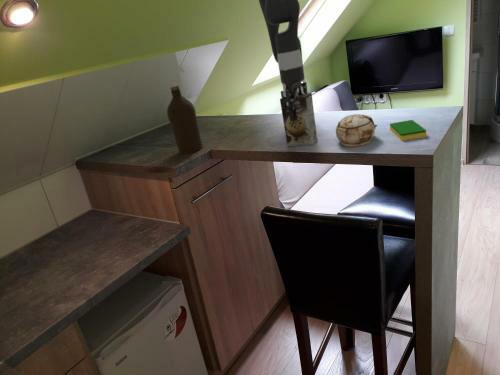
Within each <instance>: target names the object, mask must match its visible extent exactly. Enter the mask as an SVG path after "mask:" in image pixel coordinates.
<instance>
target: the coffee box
mask: <svg viewBox="0 0 500 375" xmlns="http://www.w3.org/2000/svg"><path fill="white" fill-rule="evenodd" d="M291 99H294V98H291ZM279 101H280V107H281V108H280V109H281V114H282V115H281V116H282V120H283V127H284V128H283V129H284V133H285V139H286V146H287V147H294V146H296V147H297V146H298V145H301V146H312V145H313V144H314V143H315V142H317V141H318V135H317V134H318V133H317V127H316V121H315V120H316V119H315V111H314V103H313V102H314V101H313V95H312V92H308V93H306V94H302V95H298V97H296V102H295V109H296V116H297V120H296V121H290V116H289V111H288V110H287V109H284V106H283V102H282V97H281V98H279ZM291 103H293V102H291ZM286 105H287V102H286Z"/></svg>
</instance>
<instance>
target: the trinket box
mask: <svg viewBox="0 0 500 375" xmlns="http://www.w3.org/2000/svg"><path fill="white" fill-rule="evenodd" d="M337 122H338V123H337V125H336V128H335V134H336V138H337V139H338V141H339V143H340V144H341V145H343V146H346V147H359V146H364V145H367V144H370V142H371V141H372V140H373V137H374V136H375V132H376V130H377V129H376V127H378V124H375V122H374V120H373V117H372V116H369V115H364V114H357V113H356V114H355V113H353V114H349V115H346V116H344V117H342V118H341V119H340V120H339V121H337Z"/></svg>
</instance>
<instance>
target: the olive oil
mask: <svg viewBox="0 0 500 375" xmlns="http://www.w3.org/2000/svg"><path fill="white" fill-rule="evenodd" d="M170 90H171V91H170V92H171V96H172V98H171V100H170V103H169V104H168V105H167V109H166V110H167V112H166V115H167V119H168V120H169V124H170V127H171V130H172V133H173V136H174V139H175V143H176V145H177V150H178V153H179V154H181V155H186V154H187V155H188V154H192V153H195V152H199V151H200V150H202V149H203V146H204V145H203V143H202V138H201V134H200V128H199V123H198V120H197V119H198V118H197V113H196V109H195V106H194V104H193V103H192V102H191V101H190V100H188V99H187V98H185V97H184V96H183V95H182V93H181V89H180V86H179V85H174V86H170Z"/></svg>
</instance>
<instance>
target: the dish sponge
mask: <svg viewBox="0 0 500 375" xmlns="http://www.w3.org/2000/svg"><path fill="white" fill-rule="evenodd" d="M389 130H390V131H391V132H392V134H394V135H395V136H396V137H397V138H398V139H399V140H400V141H408V140H415V139H421V138H426V137H427V129H425V128H424V127H422V125H420V124H418V123H417V122H416V121H415V120H413V119H409V120H403V121H398V122H393V123H389Z"/></svg>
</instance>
